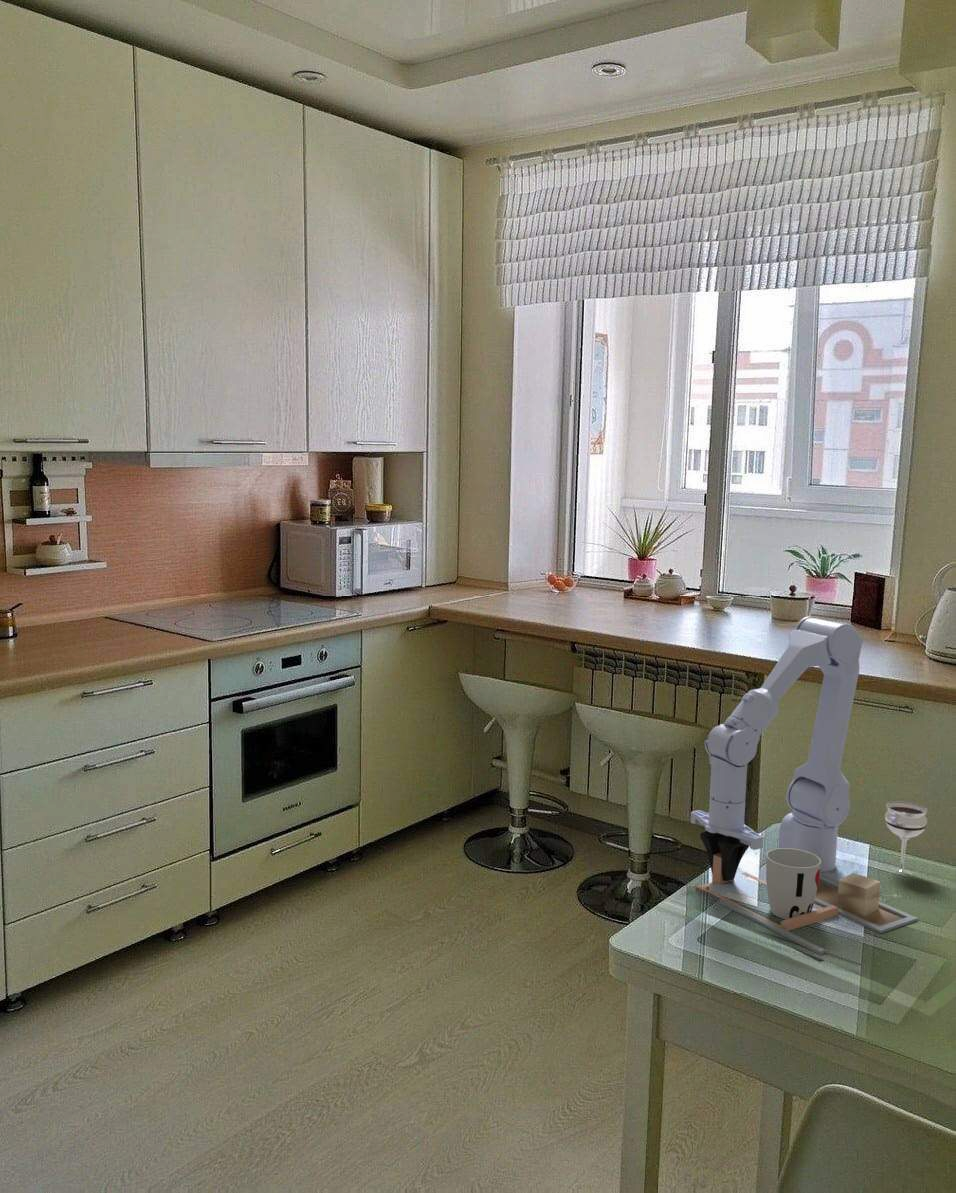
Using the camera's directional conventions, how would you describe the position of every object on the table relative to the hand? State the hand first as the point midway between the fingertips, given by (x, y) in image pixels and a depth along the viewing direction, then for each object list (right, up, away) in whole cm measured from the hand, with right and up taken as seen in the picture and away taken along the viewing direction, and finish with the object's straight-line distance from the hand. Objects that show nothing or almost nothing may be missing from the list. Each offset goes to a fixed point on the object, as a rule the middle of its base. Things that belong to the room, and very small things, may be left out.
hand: (723, 877), depth 172 cm
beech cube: (+19, -2, -10) cm, 21 cm away
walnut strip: (+17, -3, -8) cm, 19 cm away
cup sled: (+5, -3, -7) cm, 9 cm away
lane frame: (+12, -3, -11) cm, 17 cm away
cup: (+8, -4, -12) cm, 14 cm away
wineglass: (+33, -2, +7) cm, 33 cm away
